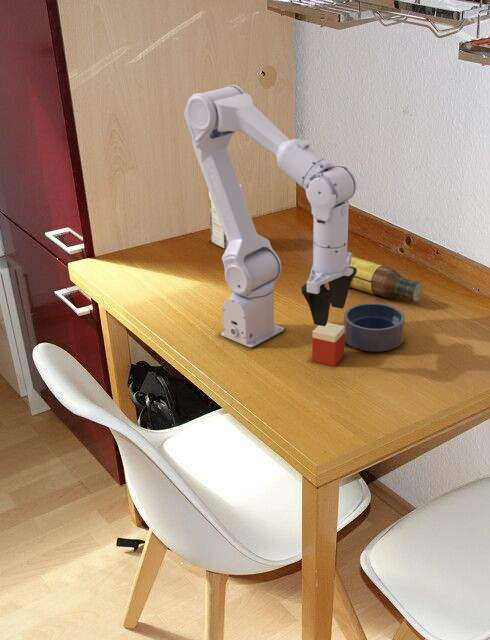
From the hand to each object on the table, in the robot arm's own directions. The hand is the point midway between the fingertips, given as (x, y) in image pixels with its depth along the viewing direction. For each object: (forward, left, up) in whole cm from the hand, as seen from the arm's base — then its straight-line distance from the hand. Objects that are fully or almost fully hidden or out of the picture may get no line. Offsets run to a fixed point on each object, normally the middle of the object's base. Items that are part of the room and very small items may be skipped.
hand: (329, 315), depth 145 cm
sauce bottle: (+28, +20, -5) cm, 35 cm away
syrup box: (+28, +53, -9) cm, 61 cm away
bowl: (+11, -2, -9) cm, 14 cm away
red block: (0, 0, -9) cm, 9 cm away
